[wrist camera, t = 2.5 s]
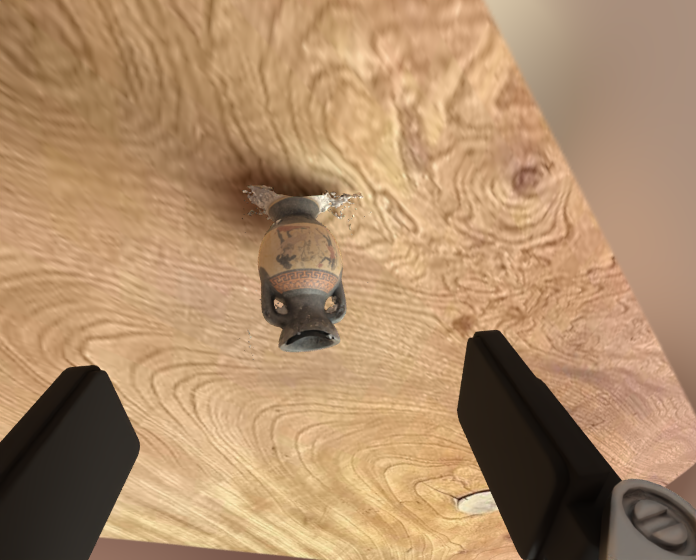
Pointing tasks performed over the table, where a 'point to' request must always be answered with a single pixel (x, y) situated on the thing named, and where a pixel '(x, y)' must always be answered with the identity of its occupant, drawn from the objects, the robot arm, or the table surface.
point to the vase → (300, 269)
